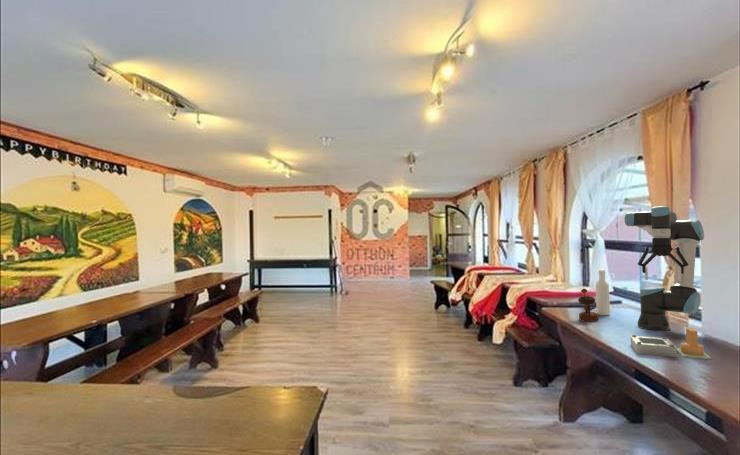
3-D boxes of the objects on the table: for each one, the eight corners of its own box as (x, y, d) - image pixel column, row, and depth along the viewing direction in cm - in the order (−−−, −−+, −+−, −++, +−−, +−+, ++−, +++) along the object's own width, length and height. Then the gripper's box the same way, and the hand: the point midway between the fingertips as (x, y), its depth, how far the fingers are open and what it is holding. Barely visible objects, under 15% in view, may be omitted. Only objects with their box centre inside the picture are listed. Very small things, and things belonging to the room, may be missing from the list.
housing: (630, 344, 195) (630, 334, 195) (667, 347, 188) (667, 337, 188) (636, 353, 181) (636, 342, 181) (676, 357, 175) (676, 345, 175)
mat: (675, 349, 186) (675, 347, 186) (701, 351, 182) (701, 350, 182) (682, 356, 175) (682, 355, 175) (711, 359, 171) (711, 357, 171)
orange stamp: (678, 349, 184) (677, 326, 184) (699, 351, 181) (699, 328, 181) (684, 354, 176) (683, 331, 176) (706, 356, 173) (706, 332, 173)
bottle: (612, 315, 258) (610, 270, 258) (599, 315, 259) (597, 270, 259) (607, 313, 265) (605, 269, 266) (594, 313, 267) (593, 269, 267)
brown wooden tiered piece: (574, 317, 256) (573, 286, 256) (592, 317, 255) (591, 286, 255) (585, 323, 241) (583, 290, 241) (603, 323, 239) (602, 290, 240)
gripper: (633, 238, 197) (634, 280, 197) (695, 237, 187) (696, 281, 187) (630, 237, 204) (631, 278, 204) (690, 236, 194) (691, 279, 193)
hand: (662, 280), depth 195 cm, fingers open, 13 cm apart
